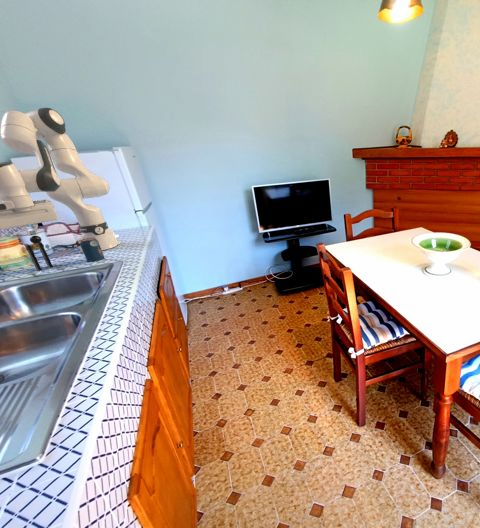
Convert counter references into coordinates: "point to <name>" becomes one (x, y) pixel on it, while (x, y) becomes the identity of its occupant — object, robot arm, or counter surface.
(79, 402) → the counter surface
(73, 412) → the counter surface
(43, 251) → the bracket
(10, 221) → the robot arm
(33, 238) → the lever
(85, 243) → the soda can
